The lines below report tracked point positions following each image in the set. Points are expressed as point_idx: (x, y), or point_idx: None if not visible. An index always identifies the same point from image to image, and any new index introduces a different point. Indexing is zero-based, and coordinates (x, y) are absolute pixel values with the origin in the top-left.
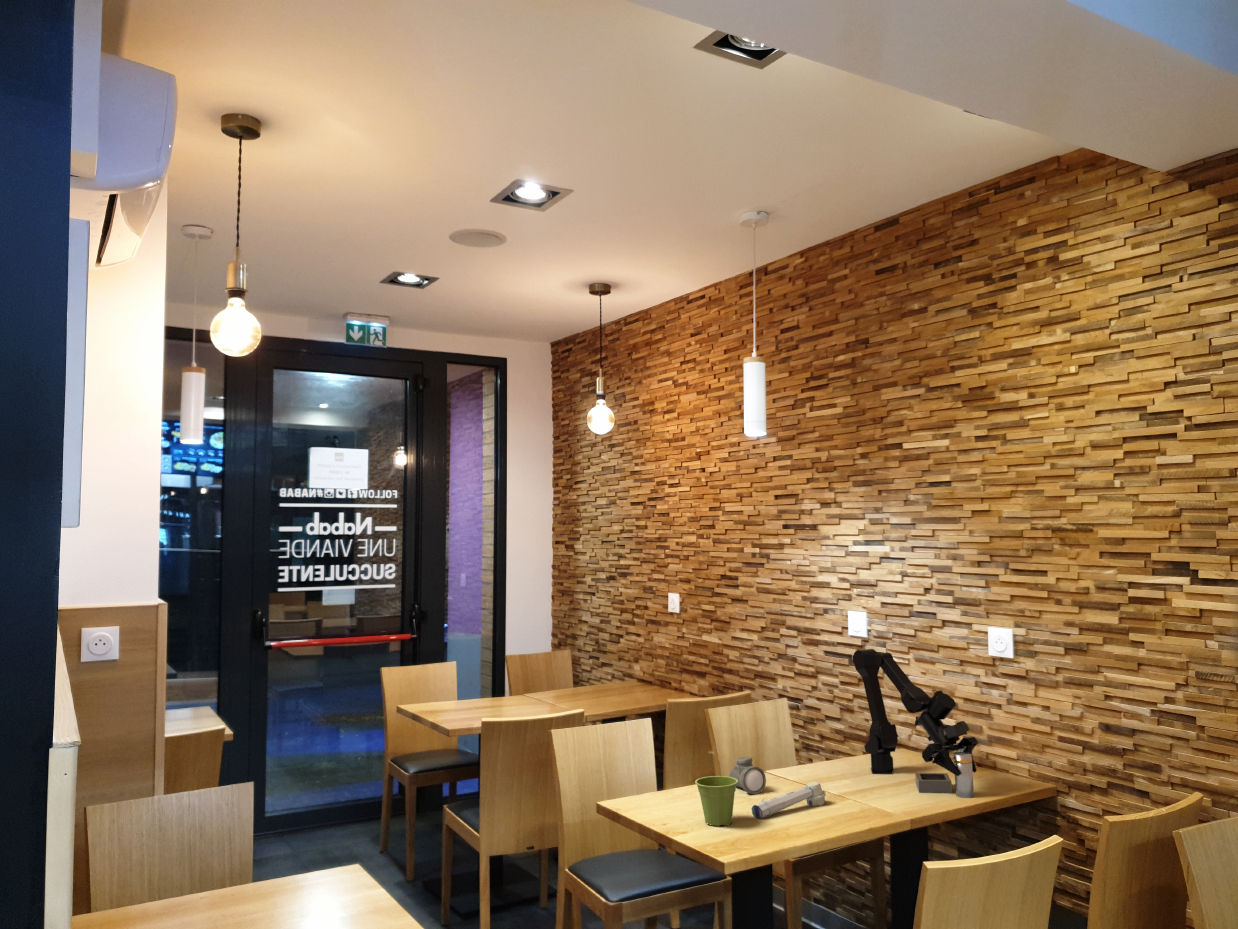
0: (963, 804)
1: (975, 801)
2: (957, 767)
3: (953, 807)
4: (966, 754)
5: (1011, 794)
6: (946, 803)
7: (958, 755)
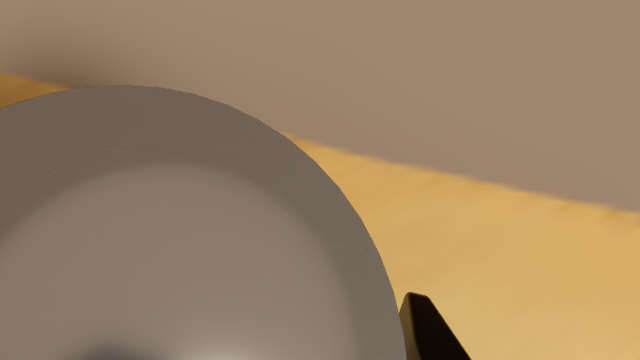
0: (489, 214)
1: (356, 188)
2: None
3: (611, 229)
4: (97, 209)
5: (21, 91)
6: (567, 327)
7: (405, 351)
